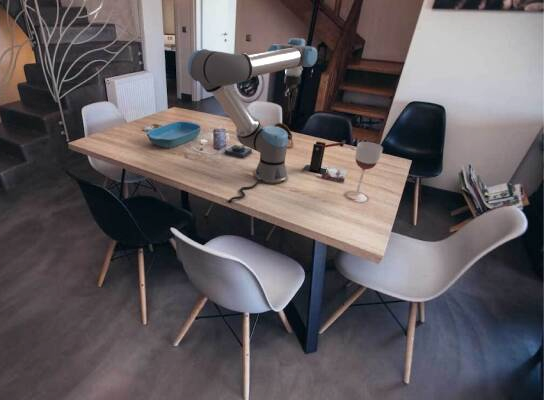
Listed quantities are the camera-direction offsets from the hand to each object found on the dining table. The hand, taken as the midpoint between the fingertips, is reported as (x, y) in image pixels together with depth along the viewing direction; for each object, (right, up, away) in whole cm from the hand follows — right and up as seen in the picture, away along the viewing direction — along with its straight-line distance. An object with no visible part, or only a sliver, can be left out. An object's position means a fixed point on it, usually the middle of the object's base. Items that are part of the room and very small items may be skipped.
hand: (287, 123), depth 159 cm
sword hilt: (+3, -6, +29) cm, 30 cm away
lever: (+18, -15, -14) cm, 27 cm away
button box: (-25, -13, +15) cm, 32 cm away
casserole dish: (-63, -3, +32) cm, 70 cm away
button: (-25, -10, +13) cm, 29 cm away
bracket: (+13, -25, -5) cm, 29 cm away
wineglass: (+25, -38, -26) cm, 52 cm away
